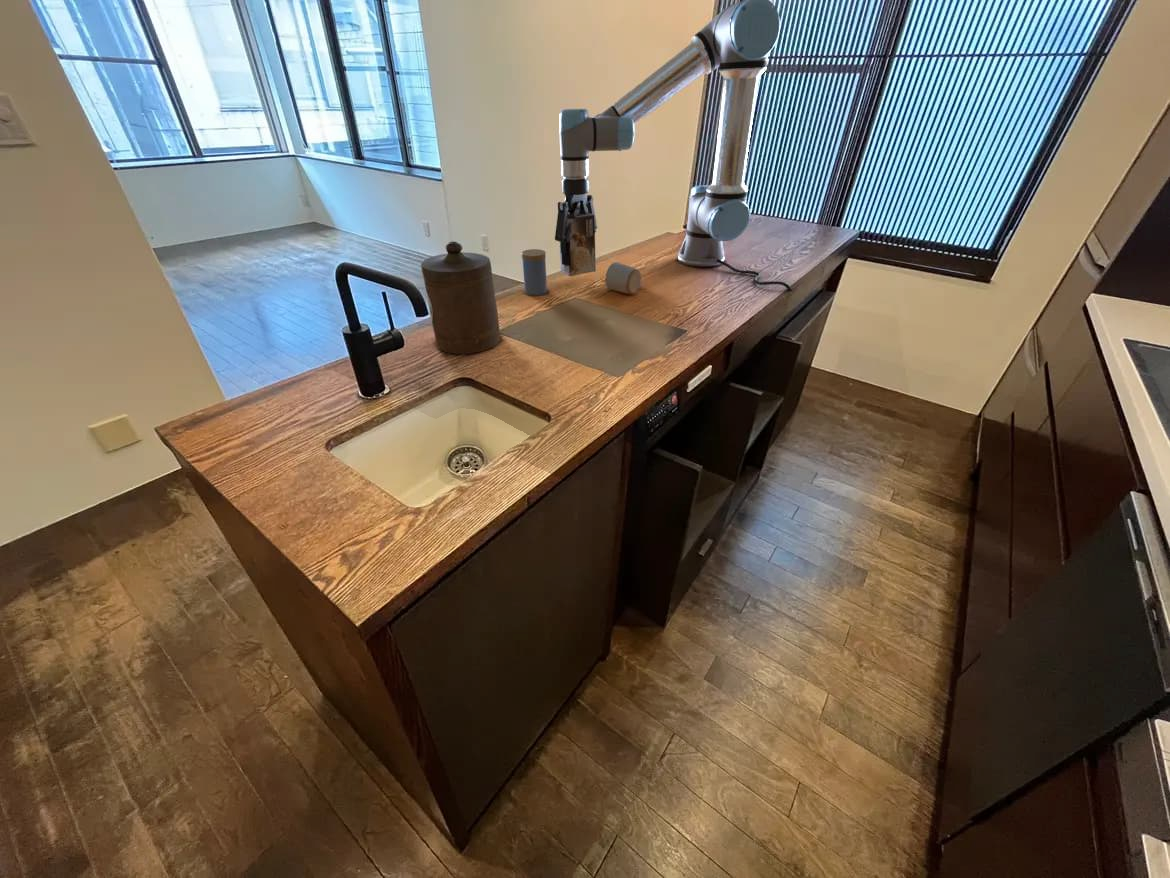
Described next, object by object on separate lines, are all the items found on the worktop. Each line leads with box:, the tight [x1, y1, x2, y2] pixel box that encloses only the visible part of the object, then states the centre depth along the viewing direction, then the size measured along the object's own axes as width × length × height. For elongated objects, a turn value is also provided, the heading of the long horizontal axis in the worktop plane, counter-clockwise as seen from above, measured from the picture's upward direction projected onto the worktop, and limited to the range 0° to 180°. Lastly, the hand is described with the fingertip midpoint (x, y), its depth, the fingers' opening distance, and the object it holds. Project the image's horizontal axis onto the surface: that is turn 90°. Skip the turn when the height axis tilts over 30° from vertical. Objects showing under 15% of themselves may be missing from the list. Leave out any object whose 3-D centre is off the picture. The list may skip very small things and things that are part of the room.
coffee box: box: [557, 213, 597, 277], centre depth 142 cm, size 9×6×16 cm
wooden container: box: [420, 241, 501, 355], centre depth 106 cm, size 15×15×22 cm
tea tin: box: [520, 248, 548, 296], centre depth 137 cm, size 7×7×11 cm
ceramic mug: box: [604, 261, 643, 295], centre depth 138 cm, size 11×8×8 cm
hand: (577, 260), depth 145 cm, fingers closed on coffee box, 10 cm apart
